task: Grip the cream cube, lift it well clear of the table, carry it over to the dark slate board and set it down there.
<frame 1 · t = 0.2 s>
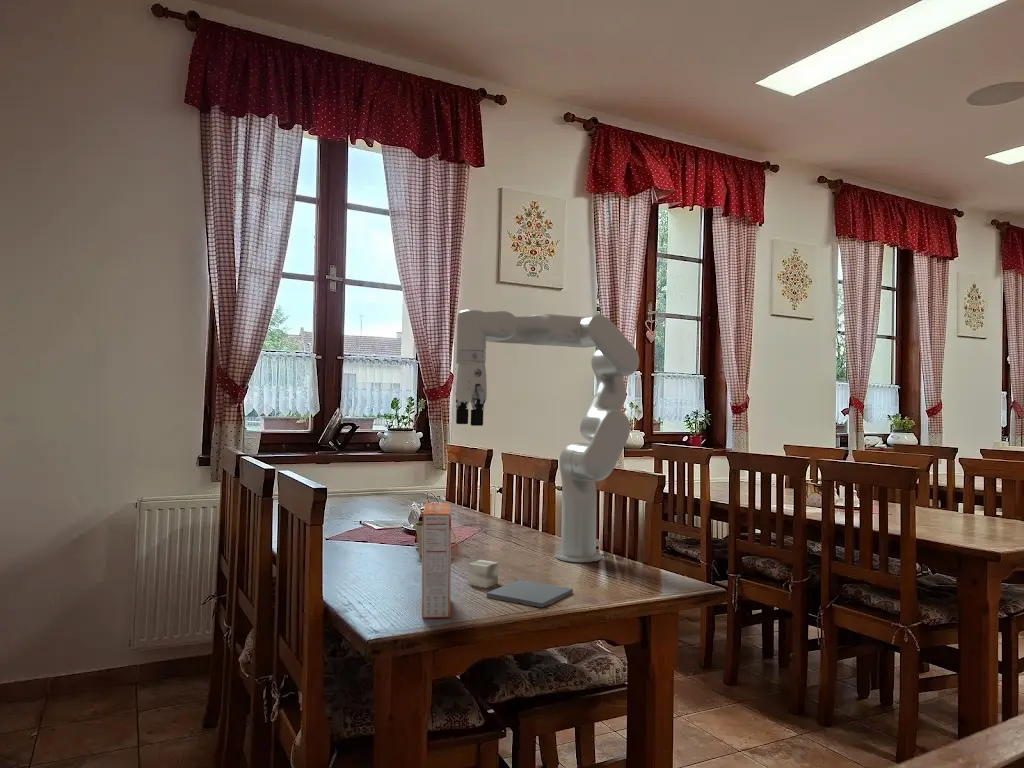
hand: (469, 424, 186), 37 cm above the table, tool pointing down, fingers open, 9 cm apart
slate board: (530, 595, 161), on the table
cracker box: (435, 609, 150), on the table
cream cube: (483, 584, 170), on the table
flower pot: (430, 555, 200), on the table
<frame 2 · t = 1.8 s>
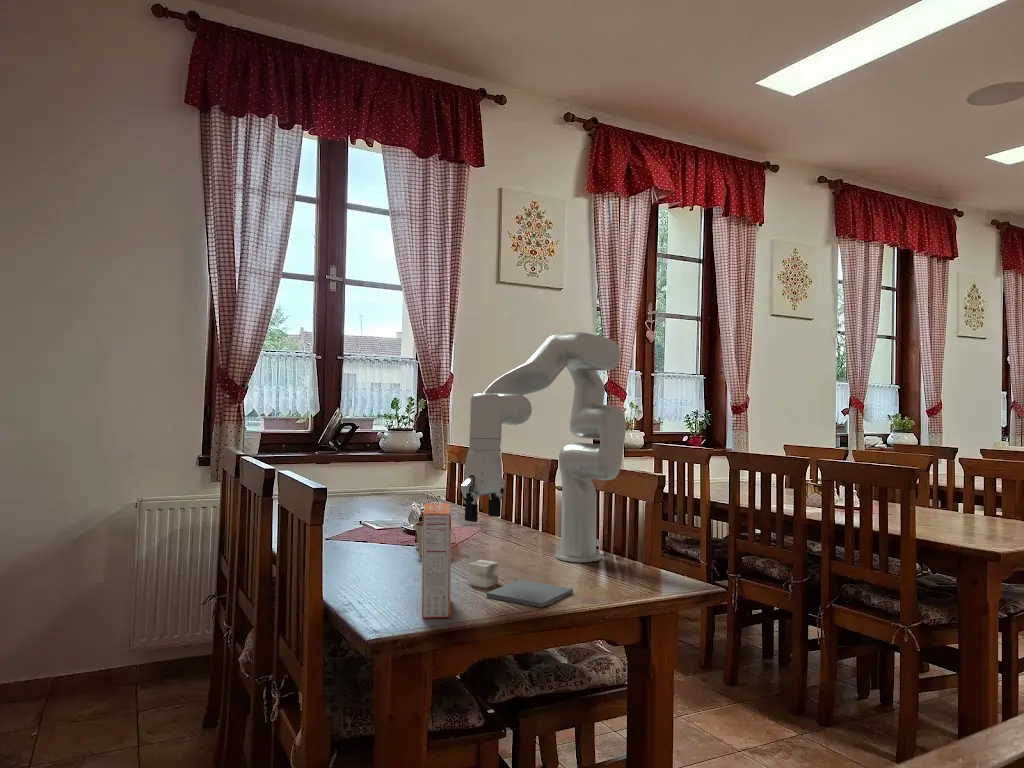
hand: (482, 518, 170), 15 cm above the table, tool pointing down, fingers open, 9 cm apart
nothing on the table moved.
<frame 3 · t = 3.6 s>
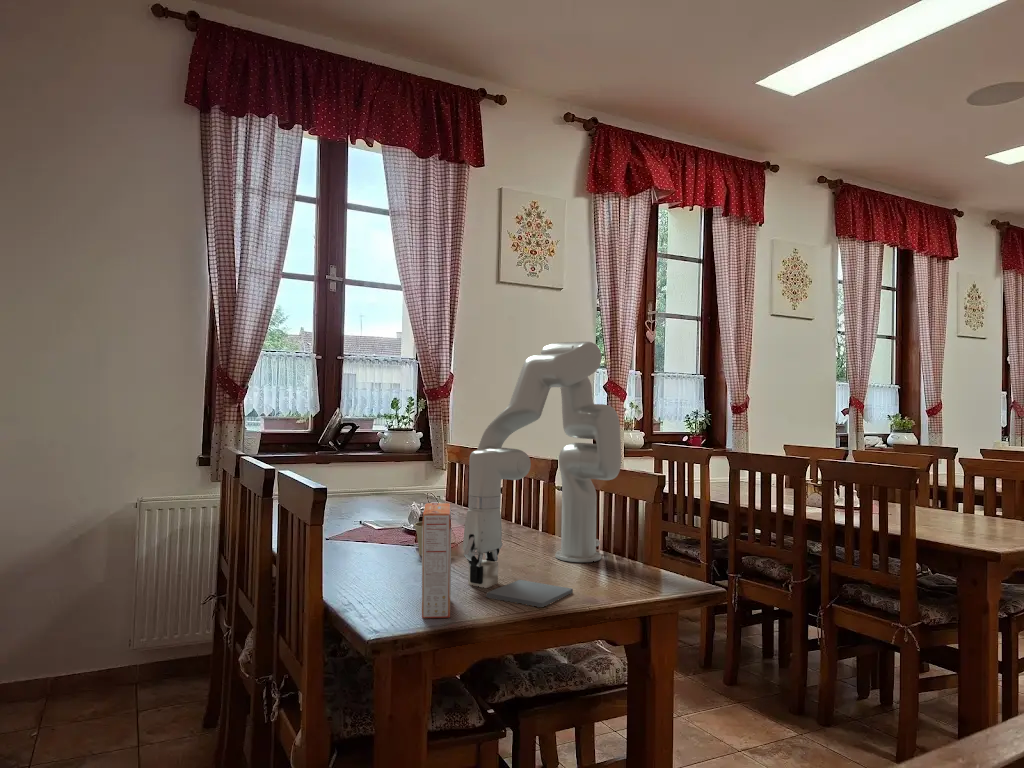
hand: (483, 579, 170), 1 cm above the table, tool pointing down, fingers closed on cream cube, 4 cm apart
cream cube: (483, 584, 170), on the table, touching gripper
everything else where it was.
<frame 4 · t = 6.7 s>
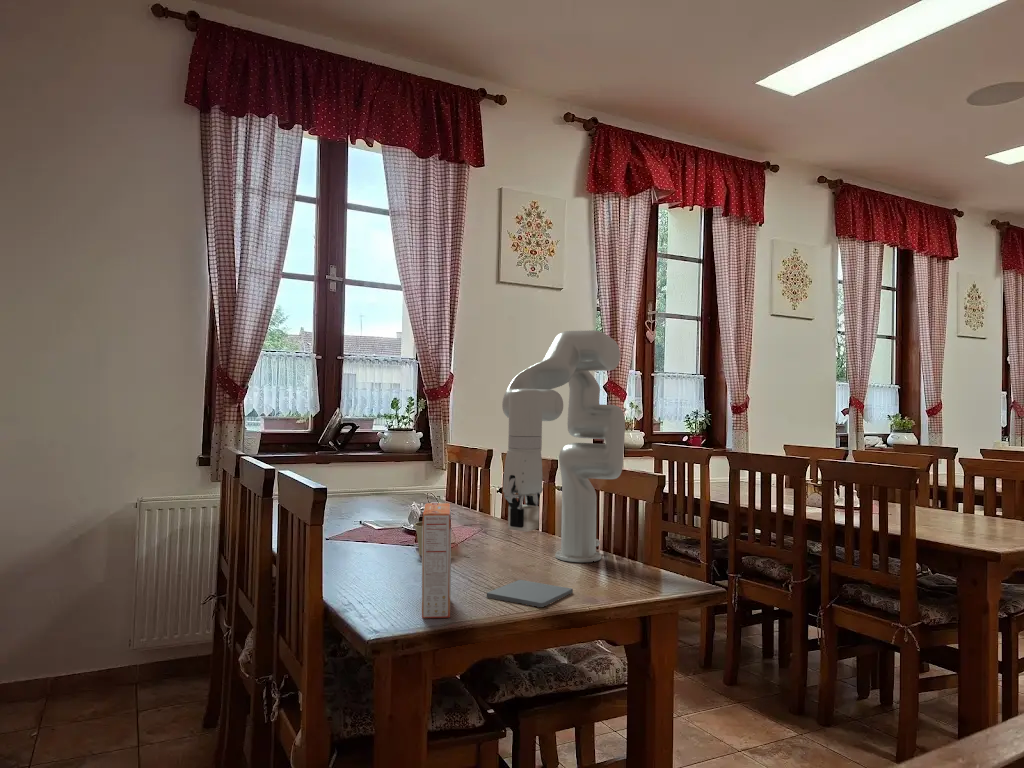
hand: (523, 524, 162), 15 cm above the table, tool pointing down, fingers closed on cream cube, 4 cm apart
cream cube: (523, 528, 162), point 14 cm above the table, touching gripper
everything else where it was.
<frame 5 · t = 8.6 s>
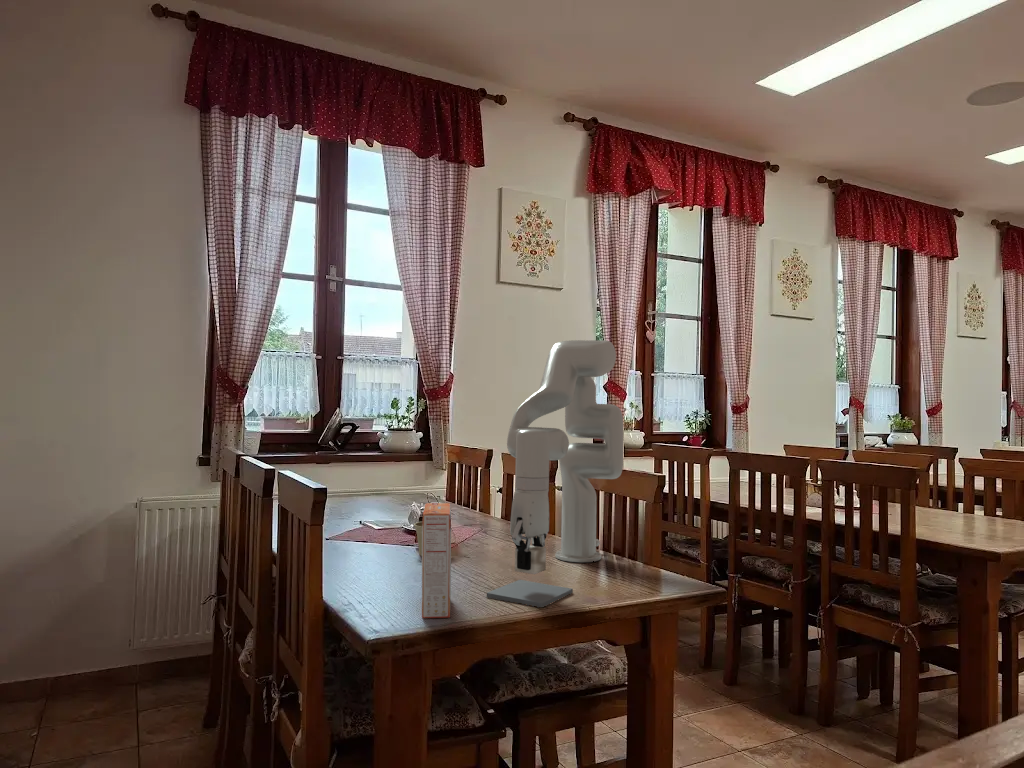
hand: (530, 566, 161), 7 cm above the table, tool pointing down, fingers closed on cream cube, 4 cm apart
cream cube: (530, 570, 161), point 6 cm above the table, touching gripper
everything else where it was.
when the fingers open (3 cm above the table, at t = 10.0 s): cream cube drops 1 cm, resting on slate board.
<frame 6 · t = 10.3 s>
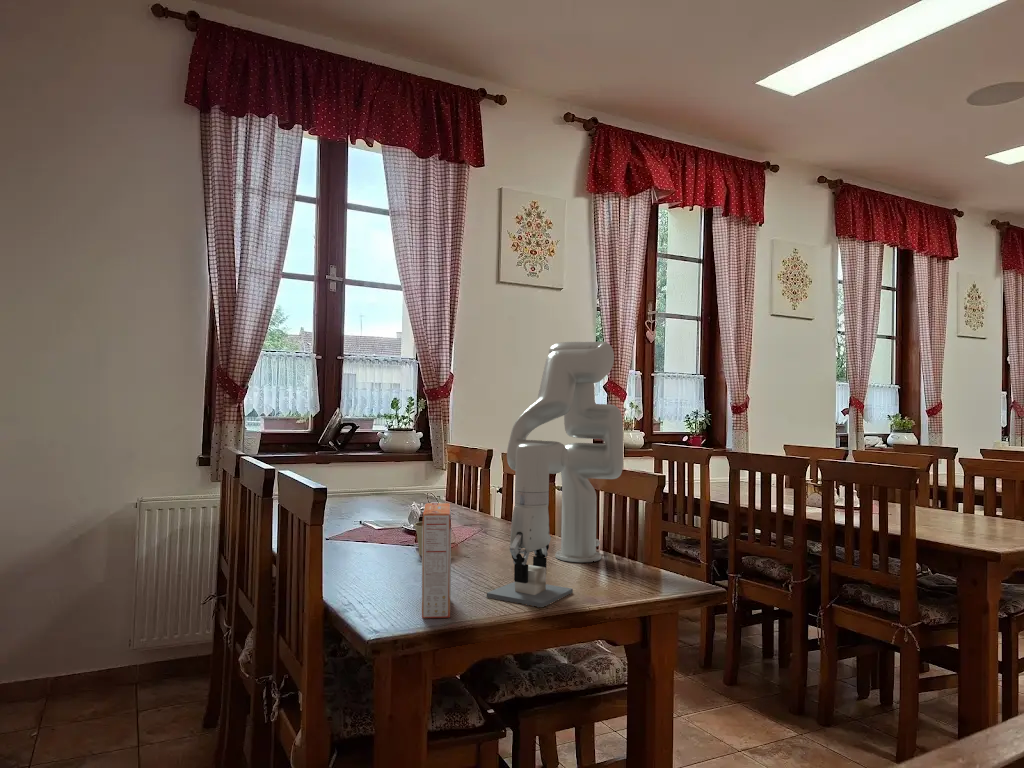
hand: (530, 577, 161), 4 cm above the table, tool pointing down, fingers open, 7 cm apart
cream cube: (530, 590, 161), point 1 cm above the table, touching slate board
everything else where it was.
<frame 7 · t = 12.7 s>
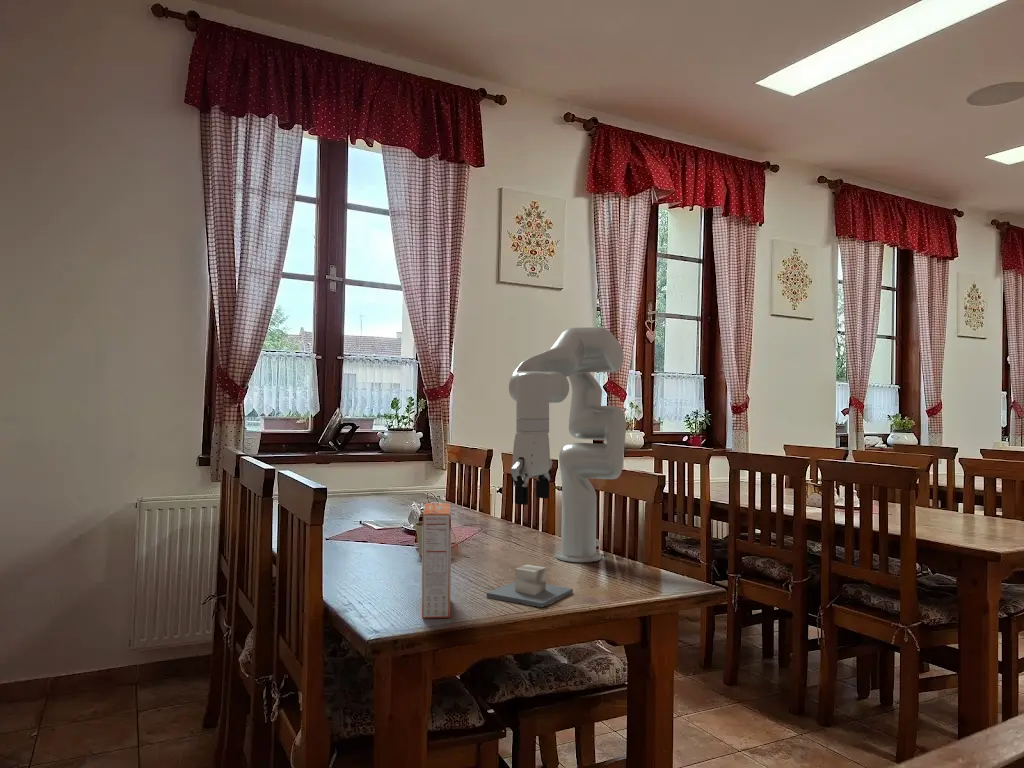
hand: (532, 501, 165), 20 cm above the table, tool pointing down, fingers open, 9 cm apart
nothing on the table moved.
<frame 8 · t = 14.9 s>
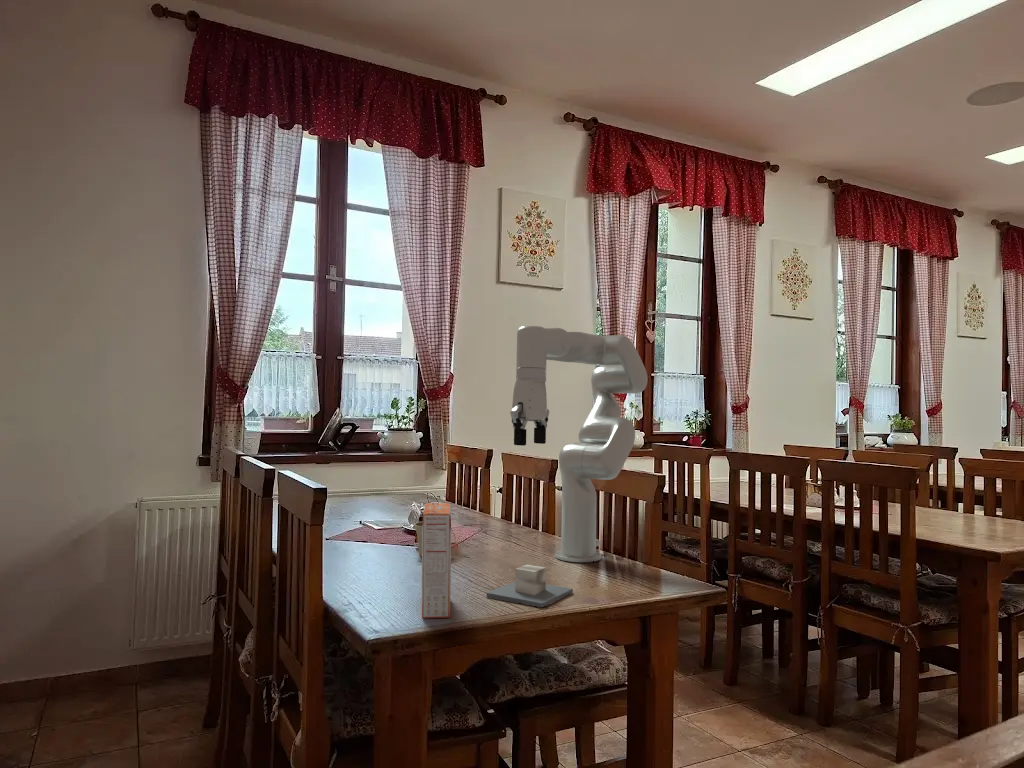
hand: (530, 444, 180), 32 cm above the table, tool pointing down, fingers open, 9 cm apart
nothing on the table moved.
at the end: cream cube inside the target area on the slate board (0.1 cm from its centre), point 1.0 cm above the slate board's base; cream cube tilted 0°; the gripper is holding nothing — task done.
